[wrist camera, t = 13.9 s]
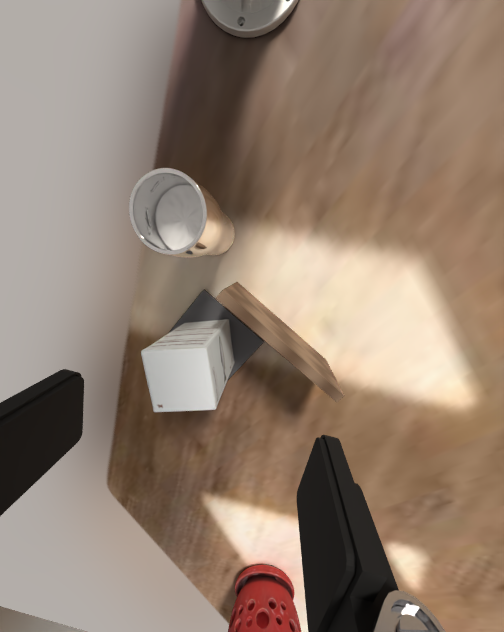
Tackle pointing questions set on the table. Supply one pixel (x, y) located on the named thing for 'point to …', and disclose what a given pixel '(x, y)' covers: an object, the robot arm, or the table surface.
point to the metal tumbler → (178, 216)
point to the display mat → (241, 335)
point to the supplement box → (189, 366)
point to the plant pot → (264, 602)
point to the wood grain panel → (281, 338)
